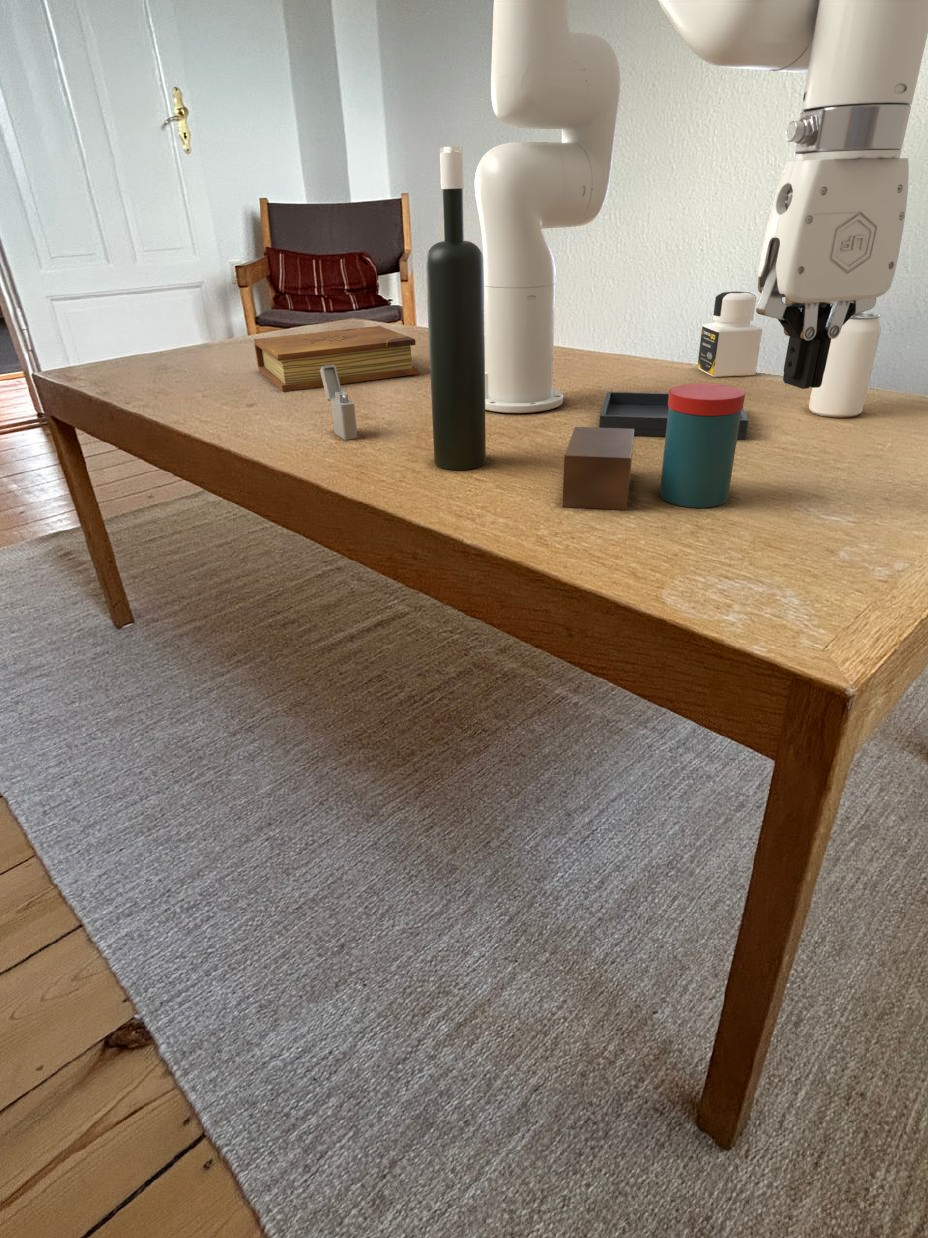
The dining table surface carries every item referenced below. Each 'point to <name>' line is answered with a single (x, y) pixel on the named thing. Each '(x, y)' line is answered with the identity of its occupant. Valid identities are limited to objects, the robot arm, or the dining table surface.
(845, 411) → the can
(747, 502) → the dining table surface
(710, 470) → the container
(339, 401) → the lighter
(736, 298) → the medicine bottle
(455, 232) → the wine bottle
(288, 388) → the diary
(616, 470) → the block
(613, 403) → the tray
